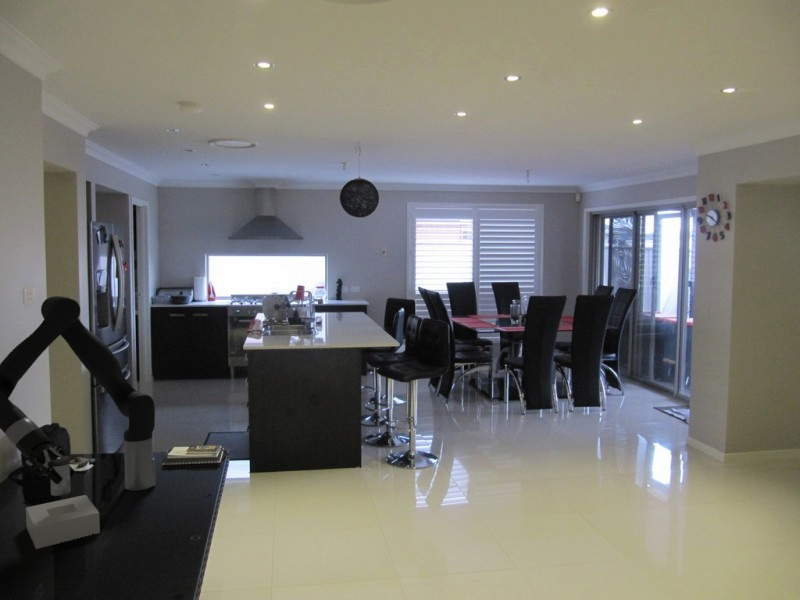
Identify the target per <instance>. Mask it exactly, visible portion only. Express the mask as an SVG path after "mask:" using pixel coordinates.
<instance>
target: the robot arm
mask: <svg viewBox="0 0 800 600" xmlns="http://www.w3.org/2000/svg"><path fill="white" fill-rule="evenodd" d="M40 313H41V316H42V318H43V320H42V322H41V323H40V324H39V326H38V327H37V328H36V329H35V330H34V331H33V332H32V333H31V334H30V335H29V336H27V337H25V339H23V340H22V341H21V342H20V343H19V344H17V345H16V346H15V347H14V348H13V349H12V350H11V351H10V352H9V353H8V354H7V355H6V357H5V358H4V359H3V360H2V361H1V362H0V430H1V431H2V432H3V433H4V434H5V436H6V437H7V439H8V440H9V441H10V443H12V444H13V446H14V447H16V449H17V450H18V451H19V452H20V453H21V454H22V455H23V456H24V457H25V458H28V457H29V458H28V459H26V461H25V462H24V463H23V464H24V466H25V467H26V468H28V469H29V470H31V471H32V472H33V473H35V474H36V475H37V476H39V477H43V476H45V477H48V478H49V479H50V481H51V480H52V481H53V482H54V483H55V484H59V483H60V482H61V481H62V480H63V478H62V477H61V476H60V475H59V474H58V473H57V472H56V471H55V470H53V467H52V466H51V462H50V459H51V458H54V457H59V456H69V457H70V461H71V456H70V455H69V453H68V452H67V451H66V449H65V447H64V446H63V445H62V444H59V445H58V446H53V445H52V444H51V443H50V442H49V441H50V438H49V437H48V436H47V435H46V433H45V432H43V430H42V429H41V428H40V427H39V426H38V425H37V423H35V422H34V421H33V420H32V419H31V418H29V417H28V416H27V415H26V414H25V412H24V411H22V410H21V409H20V408H19V407H18V406H17V405H15V404H14V403H13V402H12V400H10V396H11V395H12V393H13V392H14V390H15V388H16V386H17V385H18V383H19V381H20V380H22V378H23V376H24V375H25V374H26V373H27V372H28V371H29V369H30V368H31V367H32V366H33V364H34V363H35V362H36V361H38V360H37V359H38V358H39V357H40V356H41V355H43V353H45V352H44V351H46V350H47V348H49V347H50V345H51V344H53V343H54V342H55V340H57V338H58V337H60V336H61V338H63V339H64V341H65V342H66V343H67V344H68V346H69V347H70V349H71V350H72V352H73V353H74V354H75V356H76V357H77V359H78V360H79V361H80V362H81V364H82V365H83V367H85V368H86V370H87V372H89V374H90V375H91V376H92V377H93V378H94V379H95V381H97V382H98V383H99V385H100V386H101V387H102V388H103V389H104V390H105V391H106V392H107V394H108V395H109V396H110V398H111V399H112V402H113V403H114V404H115V406H116V407H117V409H118V410H119V412H120V413H121V414H122V415H123V416H124V417H126V418H128V428H127V429H126V430H124V433H123V449H124V452H123V453H124V479H125V480H124V483H125V487H124V488H125V490H126V491H130V492H131V491H132V492H135V491H136V492H137V491H138V490H139V491H143V490H147V489H150V488H152V487H156V486H157V483H156V481H157V480H156V478H157V477H156V459H155V458H154V447H153V446H154V444H153V443H154V442H153V441H154V440H153V433H154V430H155V425H156V423H155V422H156V417H155V416H156V407H155V406H156V405H155V402H154V399H153V398H152V396H151V395H149V394H146V393H143V392H139V391H138V390H136V389H135V388H134V387H133V386H132V385H131V384H130V383H129V381H128V380H127V379H126V377H125V375H124V372H123V369H122V367H121V364H120V362H119V359H118V358H117V356H116V355H115V354H114V353H113V351H112V350H111V349H110V347H108V345H107V344H106V343H105V342H104V341H102V340H101V339H100V338H99V337H98V336H97V335H95V334H94V333H93V332H92V331H90V330H89V329H88V328H87V327H86V326H85V325H84V324H83V322H82V321H81V320H80V318H79V317H80V315H81V306H80V303H79V302H78V301H77V300H76V299H74V298H71V297H69V296H61V295H60V296H59V295H56V296H54V295H53V296H50V297H48V298H46V299H45V300H44V301H43V302H42V304H41V307H40ZM38 468H39V469H38ZM75 475H76V471H75V470H74V469H73V468H72V466H71V465H70V479H71V478H73V476H75ZM155 485H156V486H155Z"/></svg>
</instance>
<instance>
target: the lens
mask: <svg viewBox="0 0 800 600" xmlns="http://www.w3.org/2000/svg"><path fill="white" fill-rule="evenodd" d="M69 456H70V455H69ZM69 456H59V457H54V458H51V459H50V462H51V466H52V467H53V470H55V471H56V472H57V473H58V474H59V475H60V476H61V477H62V478H63V480H62V481H61V482H60V483H59V484H55V483H54V482H53V481H52V480H51V479H50V495H51V496H64V495H68V494H69V493H71V478H70V466H71V460H70V458H71V456H70V457H69Z"/></svg>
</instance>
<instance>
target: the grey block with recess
mask: <svg viewBox="0 0 800 600" xmlns="http://www.w3.org/2000/svg"><path fill="white" fill-rule="evenodd" d="M25 517H26V518H25V520H26V529H27V533H28V534H29V536H30V539H31V541H32V543H33V546H34V548H35V550H38V549H41V548H45V547H50V546H53V545H57V544H62V543H66V542H70V541H74V540H78V539H81V537H82V538H84V537H85V536H86V537H90V536H93V535H92V534H94V535H97V534H100V533H101V532H100V531H101V528H100V512H99V510H98V509H97V508H96V506H95V505H94V504H93V503H92V502H91V500H90V498H89V497H88V496H87V495H86V494H84V495H79V496H74V497H70V498H65V499H64V498H63V499H60V500H55V501H51V502H45V503H41V504H37V505H32V506H27V507H25ZM89 535H90V536H89ZM77 538H78V539H77ZM73 539H74V540H73ZM65 541H66V542H65ZM61 542H62V543H61Z"/></svg>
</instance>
